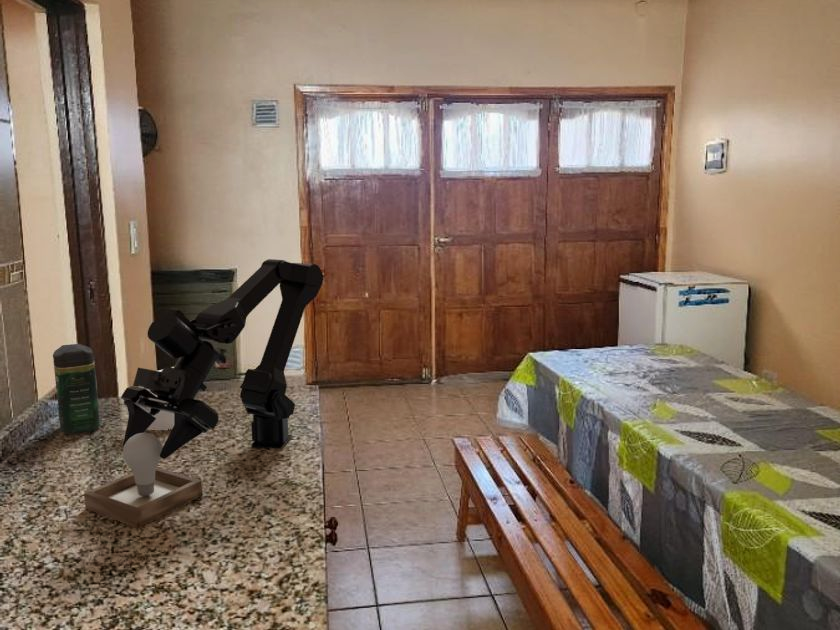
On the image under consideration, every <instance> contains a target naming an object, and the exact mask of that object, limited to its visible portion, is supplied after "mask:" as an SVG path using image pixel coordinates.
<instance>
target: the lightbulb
mask: <svg viewBox="0 0 840 630" xmlns="http://www.w3.org/2000/svg"><path fill="white" fill-rule="evenodd" d="M161 442H162V441H160V439H159V438H158V436H156V435H155V434H153V433H150V432H144V433H138V434H136V435H134V436H132V437H131V438H129V439H128V441H127V442H126V443H125V445H124V446H123V448H122V459H123V460H124V462H125V463H126V465H127V466H128V468H129V469H130V470H131V473H133V475H134V479H135V483H136V484H137V490H138V494H139V495H140V496H143V497H148V496H150V495H151V494H152V493H153V492H154V481H155V472H156V468H157V467H158V464H159V463H160V461H161V459H162V458H161V457H160V453H161V451H162V448H163V445H162V443H161Z"/></svg>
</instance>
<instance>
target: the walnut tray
mask: <svg viewBox="0 0 840 630" xmlns="http://www.w3.org/2000/svg"><path fill="white" fill-rule="evenodd" d="M83 496H84V497H83V498H84V508H85V510H87V509H88V511H89V510H91V511H90V512H92V511H93V513H95V512H96V513H95V514H97V513H98V514H97V515H100V514H101V516H103V515H104V517H105V516H107V517H106V518H108V517H110V518H109V519H111V518H112V519H111V520H113V519H115V520H114V521H116V520H118V521H117V522H119V521H120V522H119V523H121V522H123V523H122V524H124V523H126V524H125V525H127V524H128V525H127V526H129V525H131V526H130V527H132V526H133V527H132V528H135V529H140V528H141V527H143V526H145V525H148V524H149V523H151V522H153V521H154V520H157V519H159V518H161V517H164V516H165V515H167V514H168V512H169V513H171V512H173V511H175V510H177V509H179V508H181V507H184V506H185V505H187V504H189V503H190V502H189V501H191V502H193V501H194V499H195V500H197V499H199V498H201V497H203V484H202V480H201V479H198V478H195V477H191V476H188V475H185V474H181V473H177V472H176V471H172V470H168V469H166V468H165V469H164V468H162V467H158V466H157V468H156V472H155V481H154V492H153V493H152V494H151V495H150V496H148V497H143V496H140V495H139V494H138V490H137V484H136V483H135V479H134V475H133V472H131V473H128V474H127V475H123V476H121V477H119V478H117V479H114V480H112V481H109V482H107V483H105V484H103V485H100V486H97V487H95V488H93V489H91V490H88V491H86V492H84V493H83ZM200 496H201V497H200ZM198 497H199V498H198ZM196 498H197V499H196ZM192 500H193V501H192ZM188 502H189V503H188ZM186 503H187V504H186ZM184 504H185V505H184ZM180 506H181V507H180ZM178 507H179V508H178ZM176 508H177V509H176ZM172 510H173V511H172ZM170 511H171V512H170Z"/></svg>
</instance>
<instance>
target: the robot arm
mask: <svg viewBox="0 0 840 630" xmlns="http://www.w3.org/2000/svg"><path fill="white" fill-rule="evenodd" d="M323 282H324V273H323V271H322V270H321V267H320V266H319V265H318V264H316V263H303V262H291V261H290V262H289V261H287V260H284V259H276V258H275V259H273V258H271V259H269V258H268V259H266V260H264V261H263V262H262V263H261V266H260V267H259V268H258V269H257V270H256V271H254V273H253V274H252V275H250V276H249V278H247V280H245V281H244V282H243V283H242V284H241V285H240V286H239V287H238V288H237V289H236V290H235V291H234V292H233V293H231V295H230V296H228V297H227V298H225V299H224V300H221V301H218V302H215V303H213V304H211V305H209V306H208V307H206V308H204V309H203V310H201V311H200V312H199V313H198V314H197V315H196V317H195V318H192V319H190V320H189V318H187V316H185V314H184V313H183V312H182V310H180V309H178V308H170V309H168V312H167V313H165V314H163V315H161V316H159V317H158V318H156V320H154V321H152V322H151V323H150V325H149V327H148V330H147V338H148V339H149V340H150V341H151V342H152V343H154V344H155V345H156V346H157V347H159V349H161V350H162V351H163V352H164V353H166V354H167V355H168V356H169V357H170V358H173V359H178V360H177V361H176V363H175V365H174V366H167V367H166V366H165V367H163V368H162V369H163V370H162V369H161V370H162V371H161V372H159V371H158V370H153V369H148V368H143V367H137V370H136V374H135V377H134V381H133V384H132V386H129V387H126V388H125V390H124V391H123V393H122V394H121V396H120V399H121V400H123V405H124V406H125V407H126V409H127V411H128V418H127V425H126V428H125V434H124V439H123V443H122V446H123V447H124V445H125V443H126V442H127V441H128V439H129V438H131V437H132V436H134V435H136V434H138V433H146V431H147V430H146V429H147V428H148V427H149V426H150V425H151V424H152V423H153V422H154V421H155V419H156V418H155V417H153V416H154V415H156V414H157V413H159V412H160V410H162V411H166V412H170V413H174V427H173V429H171V431H170V433H169V435H168V436H167V438H166V441H165V442H164V444H163V445H162V451H161V453H160V457H161V458H160V459H163V460H166V459H167V458H169V457H170V456H171V455H172V454H174V453H176V452H177V451H178V450H179V449H181V448H182V447H183V446H184V445H187V444H188V443H189V442H191V441H192V440H193V439H195V438H196V437H198V436H200V435H202V434H206V433H207V432H208V430H211V431H214V430H215V428H216V426H217V425H218V422H219V419H220V418H219V413H218V411H216V410H214V408H212V407H211V406H210V405H208V404H207V403H205V402H204V400H199V399H196V396H197V395H198V393H199V392H203V393H204V392H205V391H206V389H207V385H206V384H205V383H204V382H205V381H206V379H207V377H209V374H210V372H211V370H212V369H213V367H214V365H215V364H216V363H218V364H219V363H220V364H222V365H223V364H226V363H227V357H226V355H225V350H224V348H221V347H216V346H214V345H213V344H212V343H217V344H218V343H219V344H226V345H229V344H232V343H233V342H235V341H236V339H237V338H238V337H239V335H240V334H241V333H242V332H243V330H244V329H245V326H246V322H247V321H246V320H247V318H248V316H249V315H250V313H251V312H252V311H254V309H256V307H257V306H258V305H259V304H260V303H262V302H263V301H264V299H266V298H267V296H269V294H270V293H272V292H273V290H274V289H276V287H278V286H279V289H280V296H281V303H280V305H279V309H278V311H277V315H276V317H275V320H274V323H273V326H272V329H271V332H270V335H269V337H268V340H267V344H266V346H265V349H264V352H263V355H262V358H261V361H260V363H259V365H258V366H257V367H256V368H255V369H251V368H248V369H247V370H246V371H245V373H244V379H243V381H242V383H241V385H240V386H239V389H241V390H240V393H239V395H240V396H239V397H240V398H239V399H241V402H242V405H243V406H244V409H245V411H246V414H248V415H253V416H252V421H251V423H250V426H251V428H250V429H251V441H253V442H252V443H251V444H250V446H251V448H263V449H282V448H283V447H285V445H287V443H288V442H289V441H290V440H291V439H292V435H291V434H289V419H290V417H291V415H293V414H294V411H295V405H296V404H295V402H294V401H292V400H291V399H290V398H289V397H288V396H287V395H286V393H287V387H288V385H287V380H286V375H285V369H286V366H287V363H288V360H289V357H290V353H291V350H292V347H293V345H294V342H295V339H296V336H297V333H298V330H299V327H300V324H301V320H302V318H303V315H304V313H305V309H306V308H307V306H308V305H309V304H310V303H311V302H312V301H313V300H314V299H316V297H317V296H318V294H319V292H320V289H321V287H322V286H323ZM172 367H174V368H172ZM140 386H142V387H144V388H146V389H150V392H152V393H153V394H155V395H157V397H156V396H154V395H153V394H152V393H150V392H149V391H148V390H146V389H144V388H140ZM164 405H167V406H164ZM152 415H153V416H152Z"/></svg>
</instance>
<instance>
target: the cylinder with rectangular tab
mask: <svg viewBox="0 0 840 630" xmlns="http://www.w3.org/2000/svg"><path fill="white" fill-rule="evenodd" d="M171 367H172V368H174V366H171ZM163 369H164V368H162V369H160V370H157V371H159V372H161V371H162V370H163ZM139 387H140V388H144V387H142V386H139ZM144 389H146V388H144ZM146 390H148V391H149V392H150V389H146ZM150 393H152V392H150ZM152 394H153V393H152ZM153 395H154V396H156V397H157V395H155V394H153ZM164 406H167V405H164ZM152 416H153V415H152ZM153 417H155V418H156V419H155V421H154V422H153V423H152V424H151V425H150V426H149V427H148V428H147V430H146V431H150V430H164V431H169V430H170V429H171V430H172V429H173V427H174V413H170V412H166V411H162V410H160V412H159V413H157V414H156V415H154V416H153ZM168 429H169V430H168Z"/></svg>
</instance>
